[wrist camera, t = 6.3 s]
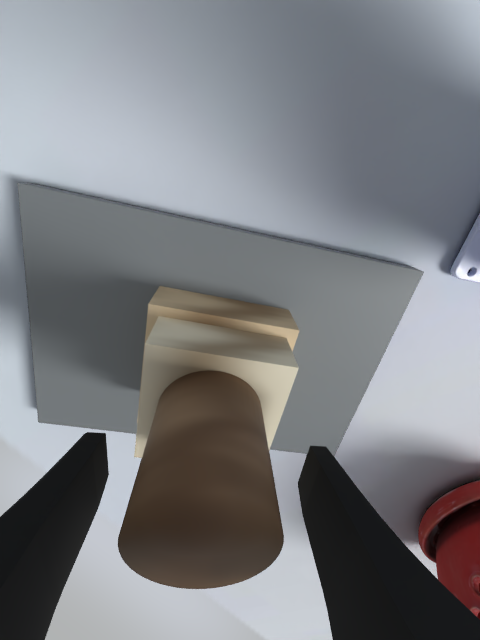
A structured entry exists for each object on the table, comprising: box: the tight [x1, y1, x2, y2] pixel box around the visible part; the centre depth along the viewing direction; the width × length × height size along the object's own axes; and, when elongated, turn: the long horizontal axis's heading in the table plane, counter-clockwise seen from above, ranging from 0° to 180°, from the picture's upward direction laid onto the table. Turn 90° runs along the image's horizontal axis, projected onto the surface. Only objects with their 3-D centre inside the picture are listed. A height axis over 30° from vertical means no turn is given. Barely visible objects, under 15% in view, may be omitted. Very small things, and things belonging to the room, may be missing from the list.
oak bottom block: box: [137, 286, 300, 423], centre depth 16 cm, size 7×7×2 cm
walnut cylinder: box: [118, 370, 284, 589], centre depth 10 cm, size 4×4×5 cm
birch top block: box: [134, 316, 299, 458], centre depth 14 cm, size 6×6×2 cm
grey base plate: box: [18, 183, 424, 456], centre depth 17 cm, size 20×14×1 cm
